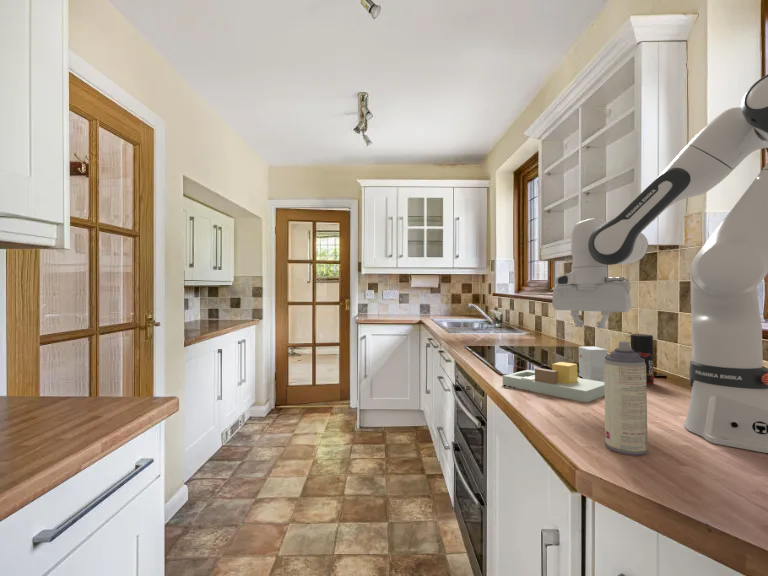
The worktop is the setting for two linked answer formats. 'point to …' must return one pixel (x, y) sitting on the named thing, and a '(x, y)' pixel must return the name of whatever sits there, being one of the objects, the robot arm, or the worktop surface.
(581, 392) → the board
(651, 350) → the deodorant
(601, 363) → the small box
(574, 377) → the block
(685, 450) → the worktop surface
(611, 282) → the robot arm
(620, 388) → the aerosol can
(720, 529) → the worktop surface
